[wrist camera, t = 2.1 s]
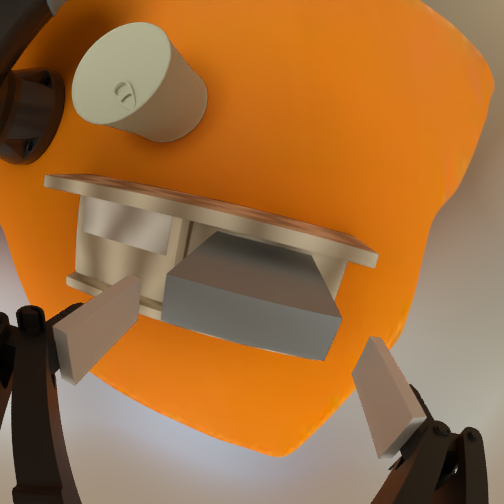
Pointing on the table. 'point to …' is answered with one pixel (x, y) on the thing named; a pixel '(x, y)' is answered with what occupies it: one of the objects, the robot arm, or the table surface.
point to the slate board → (253, 296)
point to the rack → (180, 236)
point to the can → (139, 84)
